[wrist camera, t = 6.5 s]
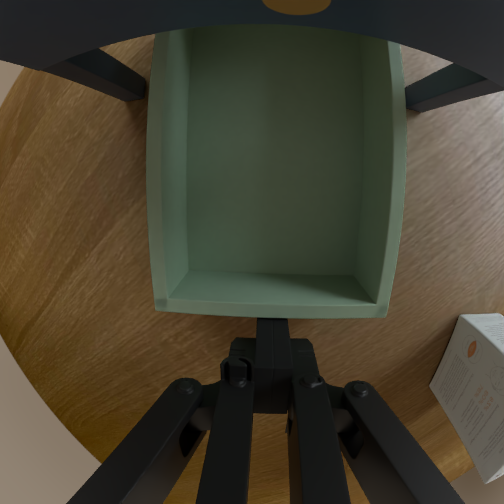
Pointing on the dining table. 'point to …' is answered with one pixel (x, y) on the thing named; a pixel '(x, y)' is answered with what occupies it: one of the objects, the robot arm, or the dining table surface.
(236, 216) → the storage tub
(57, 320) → the dining table surface
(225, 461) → the robot arm
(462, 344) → the small box
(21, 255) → the dining table surface
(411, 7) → the drawer cabinet
